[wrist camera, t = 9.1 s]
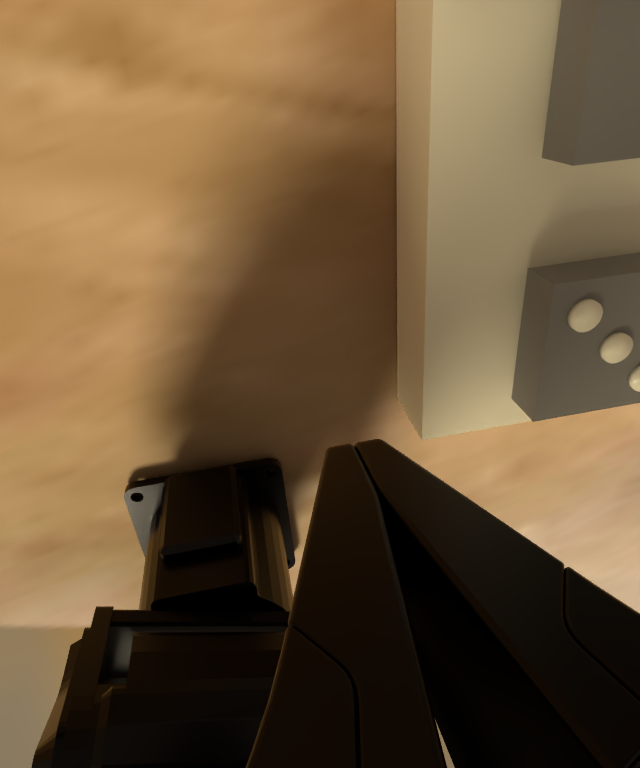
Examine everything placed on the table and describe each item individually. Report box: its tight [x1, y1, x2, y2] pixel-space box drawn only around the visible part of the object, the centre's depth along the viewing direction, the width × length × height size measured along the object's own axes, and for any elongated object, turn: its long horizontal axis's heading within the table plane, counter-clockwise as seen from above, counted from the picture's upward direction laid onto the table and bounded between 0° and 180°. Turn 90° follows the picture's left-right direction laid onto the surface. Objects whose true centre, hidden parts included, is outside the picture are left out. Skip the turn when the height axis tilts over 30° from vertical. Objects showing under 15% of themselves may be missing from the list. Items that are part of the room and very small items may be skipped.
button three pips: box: [511, 252, 640, 422], centre depth 17 cm, size 5×5×2 cm
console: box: [396, 0, 640, 440], centre depth 16 cm, size 24×11×3 cm, turn 4°
